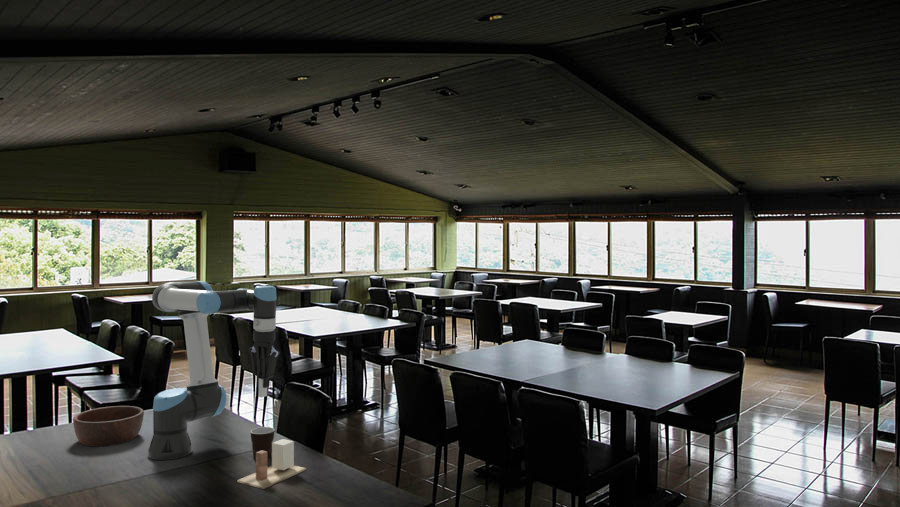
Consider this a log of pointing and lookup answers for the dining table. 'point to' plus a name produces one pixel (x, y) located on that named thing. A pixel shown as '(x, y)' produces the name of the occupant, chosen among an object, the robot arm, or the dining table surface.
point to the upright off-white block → (282, 454)
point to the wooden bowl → (108, 425)
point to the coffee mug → (262, 440)
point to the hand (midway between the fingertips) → (262, 396)
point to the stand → (268, 473)
